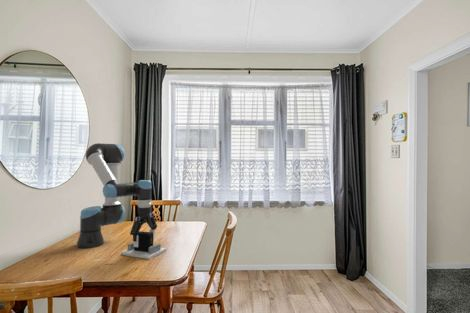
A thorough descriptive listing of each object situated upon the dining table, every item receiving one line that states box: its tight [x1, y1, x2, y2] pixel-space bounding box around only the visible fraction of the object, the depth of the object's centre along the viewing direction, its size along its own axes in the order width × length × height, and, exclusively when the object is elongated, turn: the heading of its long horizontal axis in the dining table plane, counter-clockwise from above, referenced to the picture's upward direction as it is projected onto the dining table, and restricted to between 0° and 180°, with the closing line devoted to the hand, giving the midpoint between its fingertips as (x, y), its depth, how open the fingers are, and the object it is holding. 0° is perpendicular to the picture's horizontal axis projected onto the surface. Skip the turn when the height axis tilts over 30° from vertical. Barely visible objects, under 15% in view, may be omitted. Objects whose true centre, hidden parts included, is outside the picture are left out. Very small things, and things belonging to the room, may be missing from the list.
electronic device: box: [134, 230, 154, 252], centre depth 158 cm, size 4×10×10 cm, turn 74°
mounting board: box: [120, 241, 167, 260], centre depth 159 cm, size 20×15×5 cm
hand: (144, 243), depth 159 cm, fingers open, 13 cm apart
